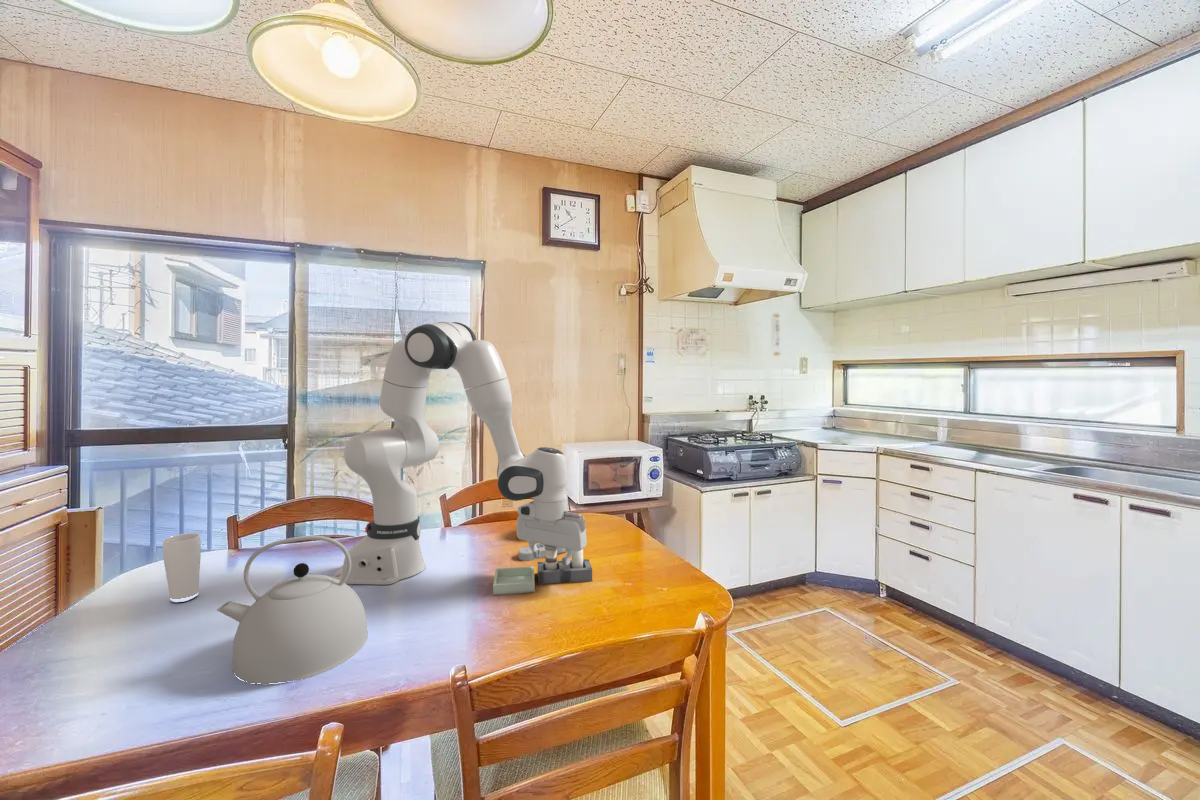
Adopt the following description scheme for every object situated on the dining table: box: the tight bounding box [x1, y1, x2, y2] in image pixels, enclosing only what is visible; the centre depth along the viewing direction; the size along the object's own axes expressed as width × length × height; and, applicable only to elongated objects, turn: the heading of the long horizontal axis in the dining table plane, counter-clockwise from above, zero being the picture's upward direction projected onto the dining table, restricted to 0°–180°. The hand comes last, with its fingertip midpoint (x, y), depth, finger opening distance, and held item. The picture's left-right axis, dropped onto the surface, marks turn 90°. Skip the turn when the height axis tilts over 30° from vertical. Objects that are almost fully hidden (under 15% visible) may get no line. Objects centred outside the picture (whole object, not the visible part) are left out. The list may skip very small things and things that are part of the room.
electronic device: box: [517, 543, 566, 561], centre depth 144 cm, size 5×10×15 cm
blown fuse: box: [544, 545, 558, 570], centre depth 128 cm, size 3×3×9 cm
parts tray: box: [492, 565, 536, 596], centre depth 123 cm, size 10×10×2 cm
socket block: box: [537, 558, 593, 585], centre depth 128 cm, size 14×7×3 cm, turn 99°
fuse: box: [571, 548, 584, 569], centre depth 129 cm, size 3×3×9 cm
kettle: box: [216, 535, 369, 684], centre depth 94 cm, size 25×23×22 cm
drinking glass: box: [162, 532, 202, 599], centre depth 115 cm, size 7×7×15 cm
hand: (551, 560), depth 128 cm, fingers open, 8 cm apart
